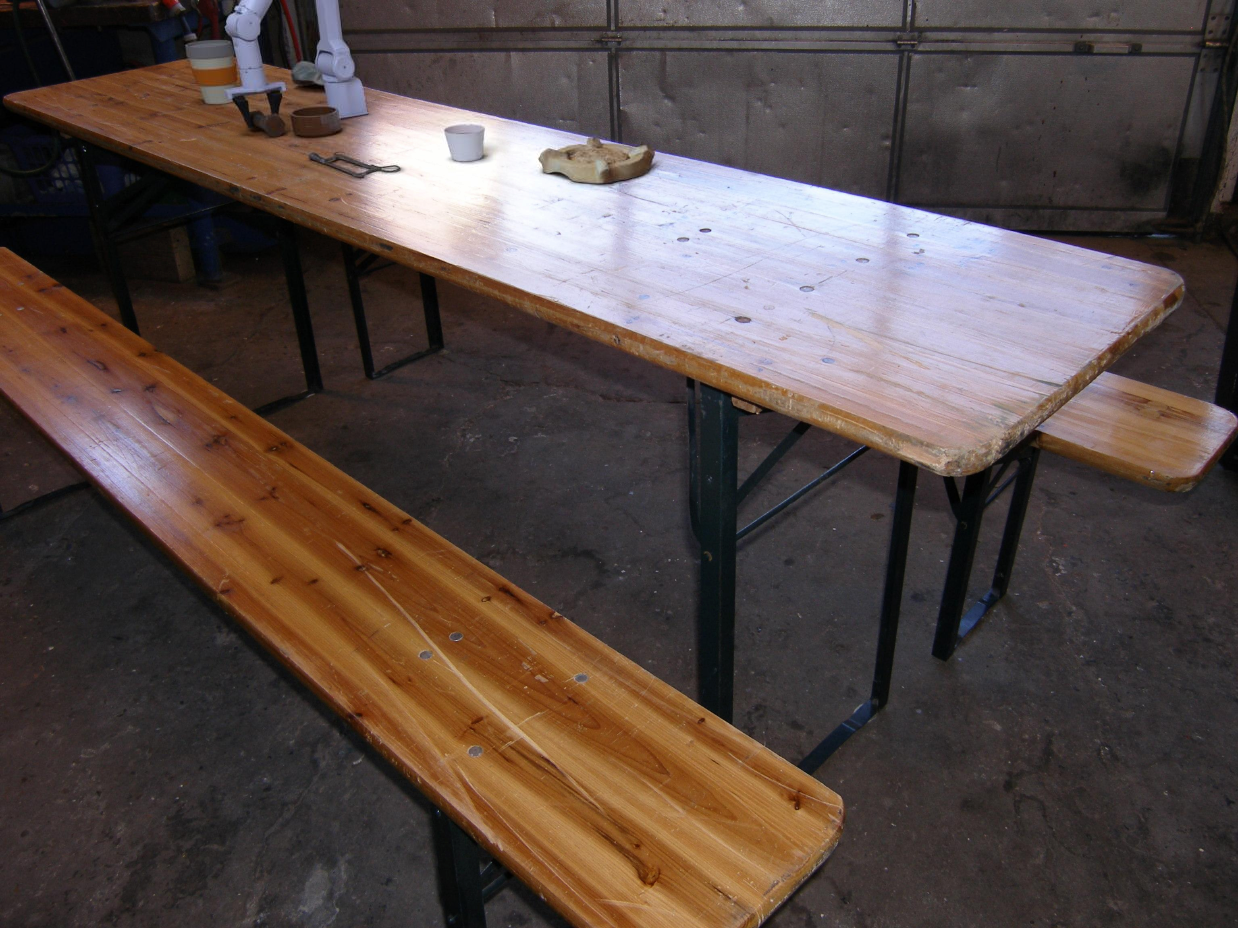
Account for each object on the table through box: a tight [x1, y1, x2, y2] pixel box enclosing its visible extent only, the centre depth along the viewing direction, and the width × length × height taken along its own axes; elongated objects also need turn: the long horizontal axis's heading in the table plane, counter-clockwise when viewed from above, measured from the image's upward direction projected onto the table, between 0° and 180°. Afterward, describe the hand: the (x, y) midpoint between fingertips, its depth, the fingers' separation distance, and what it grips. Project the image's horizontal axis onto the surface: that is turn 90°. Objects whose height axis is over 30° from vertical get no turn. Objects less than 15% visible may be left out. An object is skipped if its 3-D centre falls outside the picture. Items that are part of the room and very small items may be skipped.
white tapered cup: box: [443, 123, 486, 162], centre depth 217 cm, size 9×9×6 cm
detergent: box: [290, 60, 356, 87], centre depth 282 cm, size 13×7×25 cm
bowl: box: [289, 105, 342, 138], centre depth 240 cm, size 12×12×5 cm
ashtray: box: [537, 136, 656, 184], centre depth 207 cm, size 24×24×5 cm
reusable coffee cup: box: [185, 39, 239, 105], centre depth 270 cm, size 13×13×15 cm
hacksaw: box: [308, 151, 401, 178], centre depth 215 cm, size 24×10×2 cm, turn 44°
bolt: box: [243, 110, 286, 138], centre depth 242 cm, size 6×5×15 cm
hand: (263, 125), depth 242 cm, fingers open, 6 cm apart
